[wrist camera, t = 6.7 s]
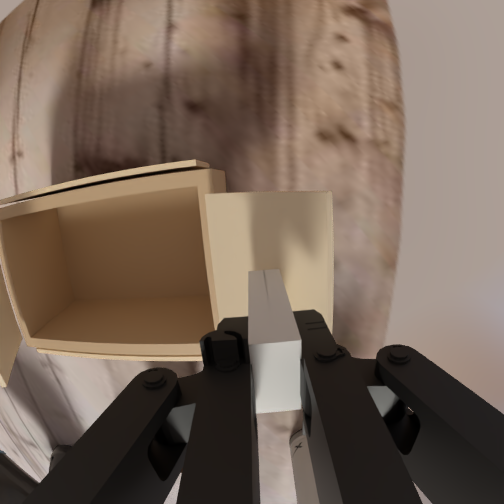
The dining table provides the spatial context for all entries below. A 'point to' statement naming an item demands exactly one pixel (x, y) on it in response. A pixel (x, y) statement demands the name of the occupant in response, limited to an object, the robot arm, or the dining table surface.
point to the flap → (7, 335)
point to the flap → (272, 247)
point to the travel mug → (303, 470)
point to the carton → (115, 263)
